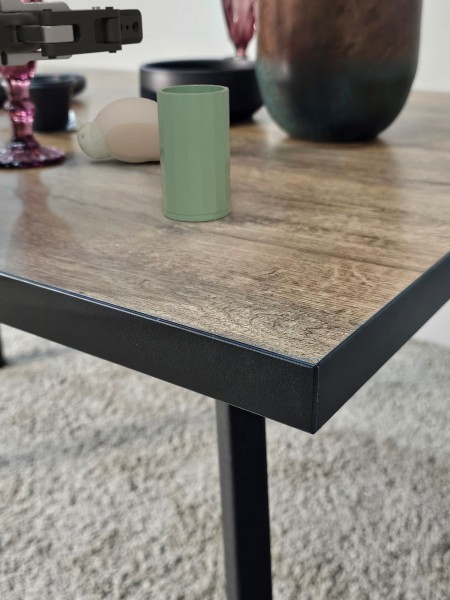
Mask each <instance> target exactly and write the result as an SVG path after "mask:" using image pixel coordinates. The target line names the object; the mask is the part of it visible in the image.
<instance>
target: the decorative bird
mask: <svg viewBox="0 0 450 600" xmlns="http://www.w3.org/2000/svg"><path fill="white" fill-rule="evenodd" d="M75 120H76V126H77V127H76V129H77V135H76V137H77V143H78V147H79V148H80V149H81V151H82V152H83V153H84V154H85V156H87V157H89V158H92V159H95V160H103V159H105V158H113V159H115V160H117V161H120V162H123V163H132V164H133V163H135V164H140V163H146V162H160V146H159V127H158V108H157V101H155V100H153V99H149V98H145V97H139V96H131V97H130V96H129V97H128V96H127V97H122V98H119V99H116V100H113V101H112V102H110V103H107V104H106V105H105V106H104V107H102V109H100V110H99V112H98V113H97V114H96V116H95V118H94V119H93V120H92V122H87V121H85V120H83V119H81V118H79V117H75Z"/></svg>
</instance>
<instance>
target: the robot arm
mask: <svg viewBox="0 0 450 600" xmlns="http://www.w3.org/2000/svg"><path fill="white" fill-rule="evenodd" d="M143 30H144V29H143V16H142V12H141V10H140V9H139V8H123V9H120V8H114V6H105V7H104V8H101V6H91V8H86V9H85V8H84V9H82V8H81V9H71V8H70V6H69V5H68V4H67V3H66V2H64V1H26V2H25V1H22V0H0V67H17V66H18V67H19V66H25V65H27V64H28V63H29V62H36V61H37V62H38V61H57V60H58V61H59V60H69V59H71V58H72V57H73V56H76V55H86V54H97V53H98V54H99V53H108V54H117V52H118V51H123V46H125V45H126V46H127V45H135V44H137V45H138V44H141V43H142V41H143V39H144V33H143V32H144V31H143Z"/></svg>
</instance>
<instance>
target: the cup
mask: <svg viewBox="0 0 450 600" xmlns="http://www.w3.org/2000/svg"><path fill="white" fill-rule="evenodd" d="M156 102H157V108H158V127H159V146H160V161H159V162H160V180H161V181H160V183H161V198H162V199H161V201H162V211H163V213H162V214H163V216H164V217H166V218H167V219H169V220H174V221H179V222H189V223H192V222H193V223H194V222H195V223H198V222H199V223H200V222H210V221H215V220H219V219H222V218H225V217H227V216H229V215H230V214H231V212H232V211H231V208H232V207H231V206H232V200H231V198H232V197H231V195H232V194H231V143H230V139H231V138H230V135H231V134H230V89H229V87H227V86H223V85H215V84H181V85H180V84H179V85H170V86H164V87H161V88H157V89H156Z"/></svg>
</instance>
